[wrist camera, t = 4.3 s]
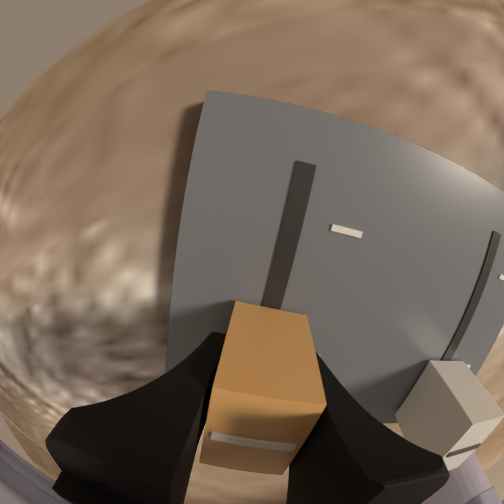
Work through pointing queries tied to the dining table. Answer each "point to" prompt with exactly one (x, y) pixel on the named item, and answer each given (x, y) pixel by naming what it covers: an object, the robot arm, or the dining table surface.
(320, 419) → the robot arm
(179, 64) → the dining table surface
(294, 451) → the orange fader
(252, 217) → the console
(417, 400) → the grey fader
